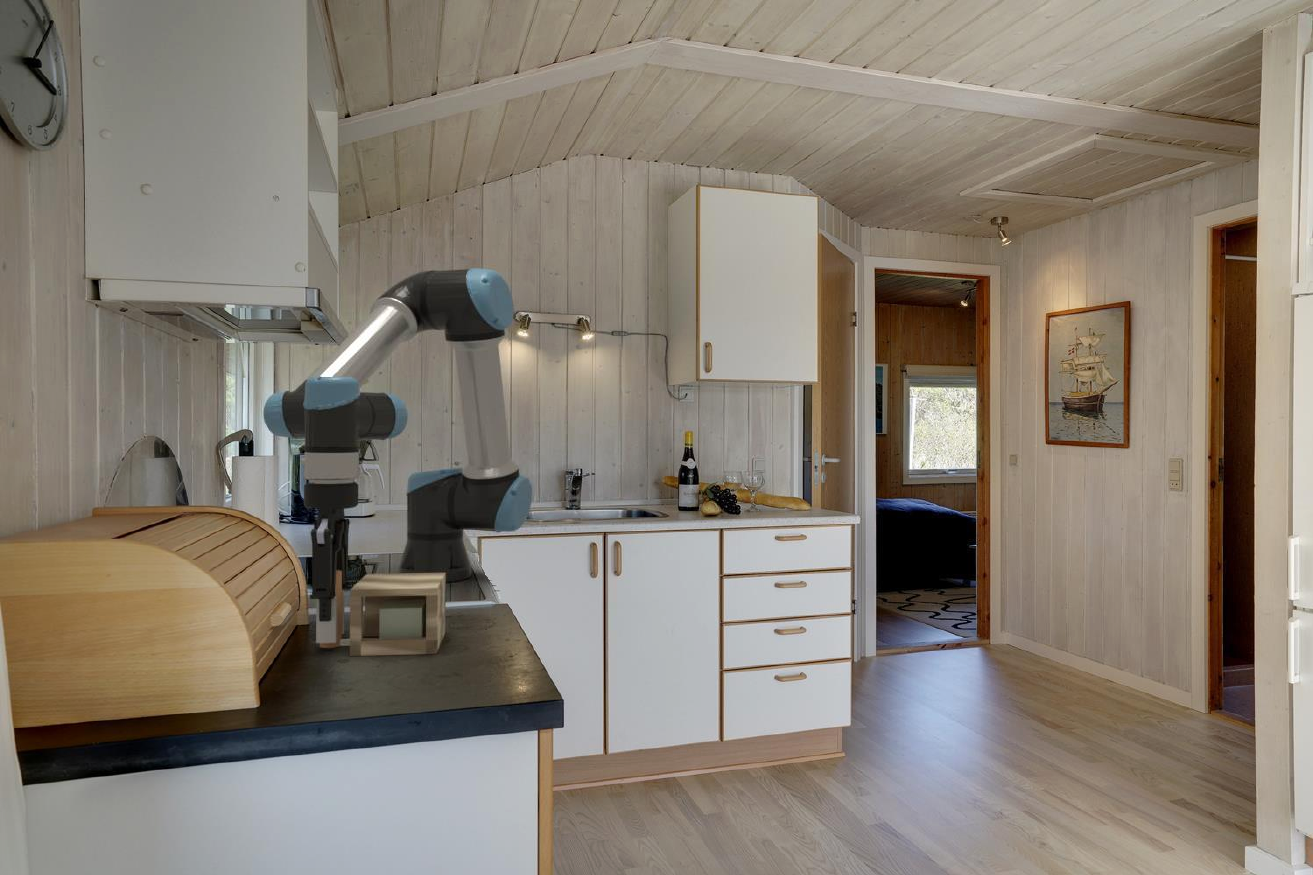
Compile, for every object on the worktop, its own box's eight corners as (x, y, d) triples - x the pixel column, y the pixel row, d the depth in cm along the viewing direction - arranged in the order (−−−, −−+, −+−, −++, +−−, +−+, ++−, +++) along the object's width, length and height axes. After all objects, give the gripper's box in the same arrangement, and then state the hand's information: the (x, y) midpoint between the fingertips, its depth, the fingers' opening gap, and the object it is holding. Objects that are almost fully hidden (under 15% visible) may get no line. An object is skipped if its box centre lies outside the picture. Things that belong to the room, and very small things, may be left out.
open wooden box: (366, 634, 129) (367, 573, 129) (445, 632, 131) (445, 572, 130) (349, 655, 117) (350, 589, 117) (436, 653, 119) (437, 588, 119)
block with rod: (325, 640, 125) (325, 568, 125) (426, 637, 127) (427, 566, 127) (314, 651, 119) (315, 575, 119) (421, 648, 121) (422, 574, 121)
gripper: (319, 476, 130) (318, 624, 130) (287, 485, 113) (286, 655, 113) (369, 476, 131) (368, 623, 131) (344, 485, 114) (343, 653, 114)
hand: (330, 637), depth 122 cm, fingers open, 4 cm apart
